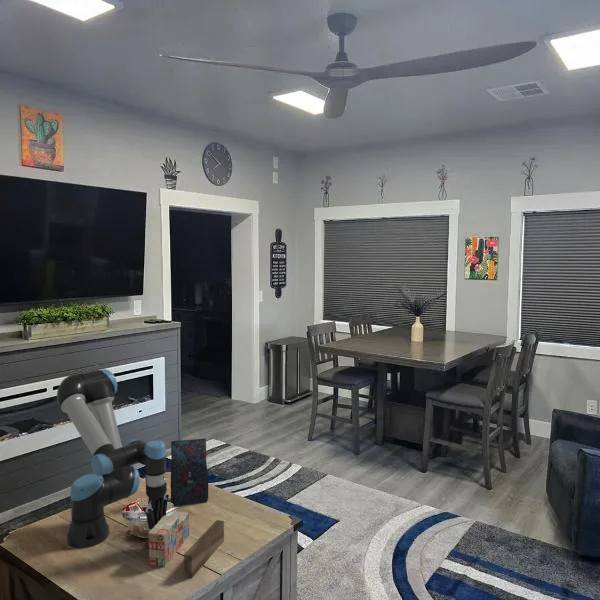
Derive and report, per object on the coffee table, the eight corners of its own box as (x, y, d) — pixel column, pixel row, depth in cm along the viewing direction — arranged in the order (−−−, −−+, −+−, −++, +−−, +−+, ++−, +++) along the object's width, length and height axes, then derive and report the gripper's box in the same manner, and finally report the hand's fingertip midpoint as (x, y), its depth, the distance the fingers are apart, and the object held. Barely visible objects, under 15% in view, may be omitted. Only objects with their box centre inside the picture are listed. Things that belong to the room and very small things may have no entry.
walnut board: (184, 576, 175) (184, 554, 174) (217, 539, 198) (216, 519, 197) (192, 578, 174) (191, 555, 173) (224, 540, 197) (223, 521, 196)
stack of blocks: (174, 533, 202) (174, 503, 201) (189, 535, 201) (189, 505, 200) (148, 565, 181) (148, 532, 180) (165, 567, 180) (164, 534, 179)
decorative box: (171, 498, 231) (169, 438, 229) (207, 494, 235) (206, 435, 233) (170, 506, 223) (169, 444, 221) (208, 502, 227) (207, 441, 225)
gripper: (154, 492, 183) (156, 555, 185) (174, 477, 195) (176, 536, 197) (136, 489, 185) (138, 551, 187) (157, 474, 197) (159, 533, 199)
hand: (157, 543), depth 192 cm, fingers closed
